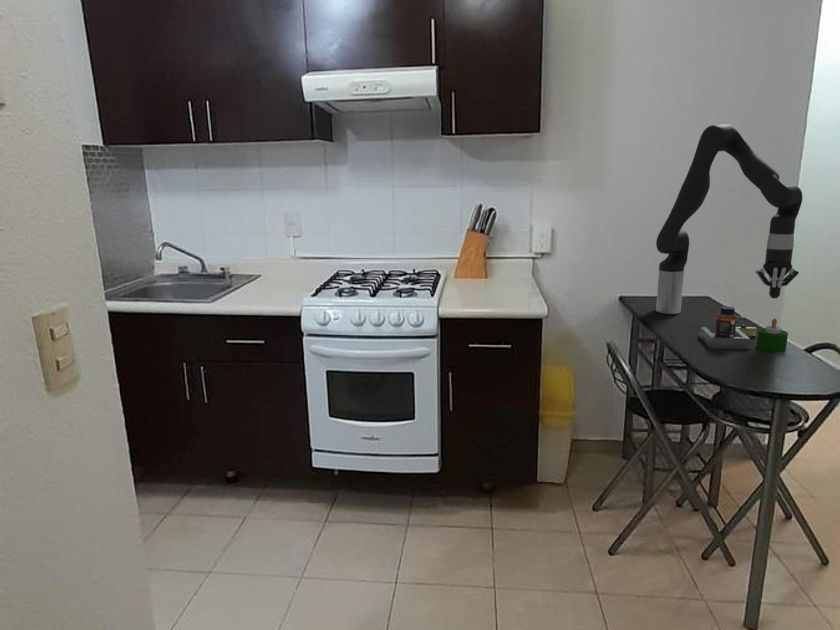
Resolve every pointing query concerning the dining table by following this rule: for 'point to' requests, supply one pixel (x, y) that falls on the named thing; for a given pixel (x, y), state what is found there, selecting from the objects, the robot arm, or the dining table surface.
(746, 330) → the bar
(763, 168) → the robot arm
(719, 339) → the dock
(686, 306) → the dining table surface
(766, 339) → the candle
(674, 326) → the dining table surface
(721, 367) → the dining table surface
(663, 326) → the dining table surface
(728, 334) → the supplement bottle
